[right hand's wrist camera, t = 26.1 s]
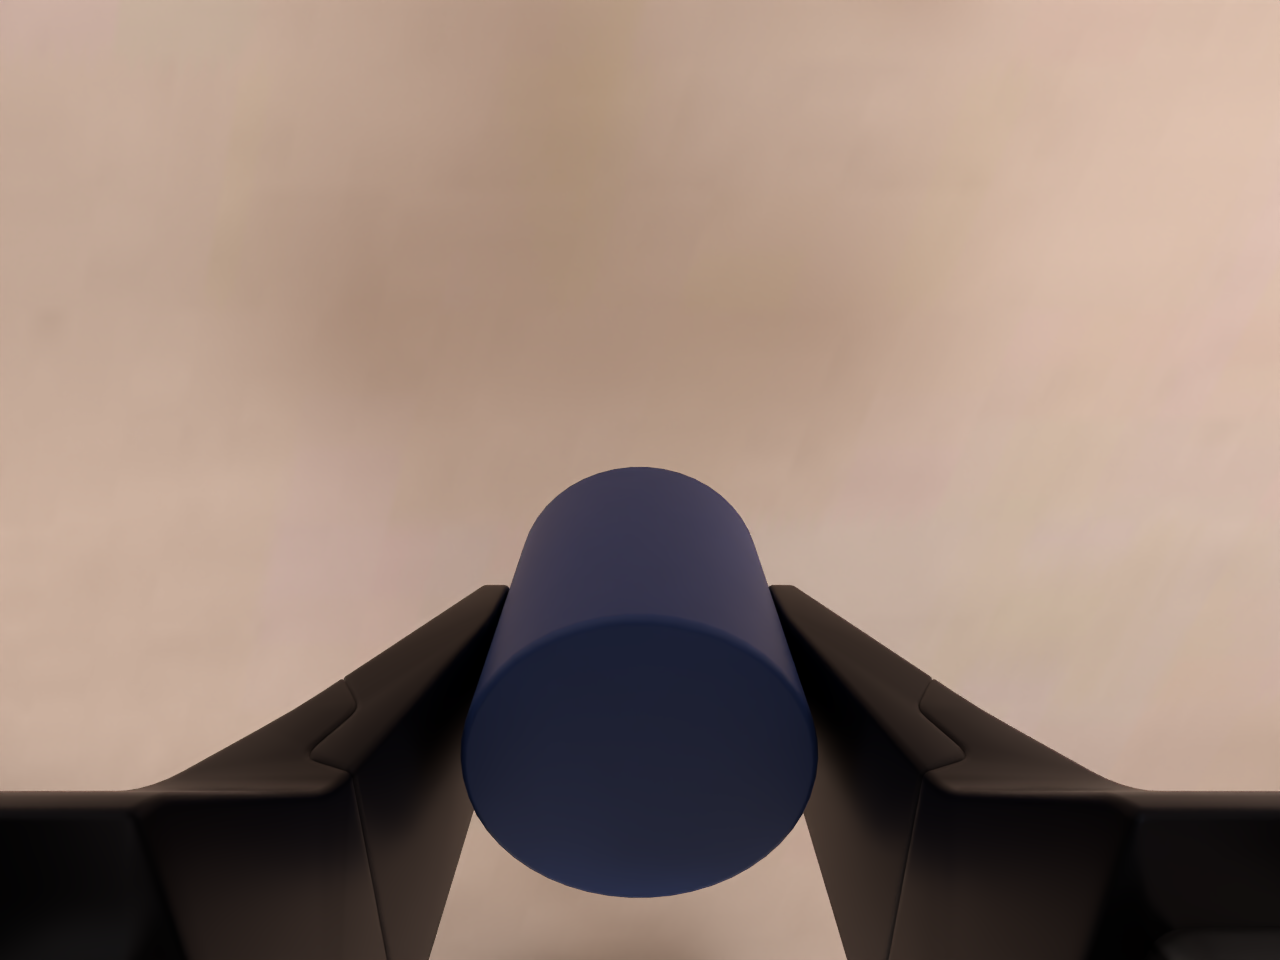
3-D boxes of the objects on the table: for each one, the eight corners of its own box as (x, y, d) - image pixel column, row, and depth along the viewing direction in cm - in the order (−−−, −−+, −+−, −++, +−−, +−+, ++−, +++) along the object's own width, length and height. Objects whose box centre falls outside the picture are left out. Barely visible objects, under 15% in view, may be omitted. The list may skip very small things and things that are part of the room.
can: (756, 456, 12) (825, 605, 7) (758, 666, 13) (816, 892, 9) (506, 472, 12) (429, 629, 7) (536, 679, 13) (486, 909, 9)
